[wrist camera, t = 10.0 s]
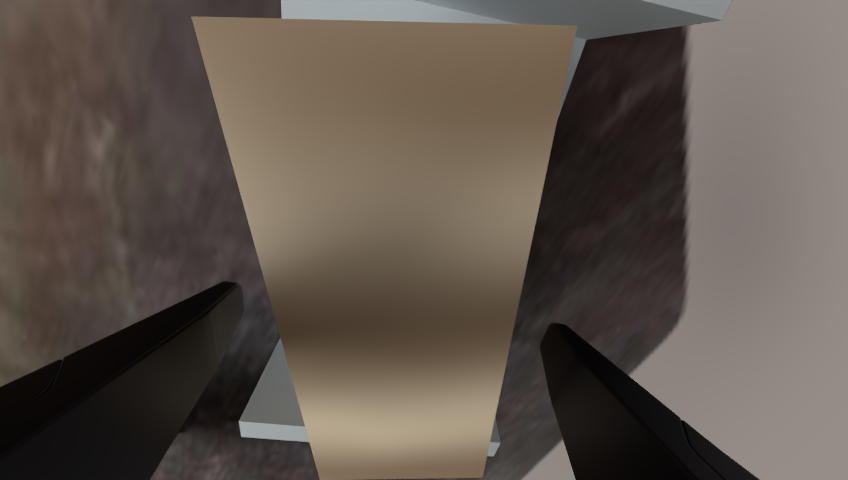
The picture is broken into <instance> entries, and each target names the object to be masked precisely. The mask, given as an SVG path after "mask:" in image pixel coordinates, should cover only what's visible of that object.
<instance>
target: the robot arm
mask: <svg viewBox="0 0 848 480" xmlns="http://www.w3.org/2000/svg"><path fill="white" fill-rule="evenodd" d="M243 312H244V299H243V291H242V286H241V284H240V283H236V282H228V281H224V282H221V283H219V284H217V285H215V286H213V287H211V288H209V289H206V290H204V291H202V292H200V293H198V294H196V295H194V296H192V297H190V298H188V299H185V300H183V301H181V302H179V303H177V304H175V305H173V306H171V307H169V308H166V309H164V310H162V311H160V312H158V313H156V314H154V315H152V316H150V317H148V318H145V319H143V320H141V321H139V322H137V323H135V324H133V325H131V326H129V327H127V328H124V329H122V330H120V331H118V332H116V333H114V334H112V335H110V336H108V337H106V338H103V339H101V340H99V341H97V342H95V343H93V344H91V345H89V346H87V347H84V348H82V349H80V350H78V351H76V352H74V353H72V354H70V355H68V356H65V357H64V358H63V360H57V361H55V362H53V363H51V364H48V365H46V366H44V367H42V368H40V369H38V370H36V371H34V372H32V373H29V374H27V375H25V376H23V377H21V378H18V379H16V380H14V381H12V382H10V383H8V384H5V385H3V386H1V387H0V480H150V478H151V477H152V475H153V473H154V472H155V470H156V468H157V467H158V465H159V463H160V462H161V460H162V458H163V457H164V455H165V453H166V452H167V450H168V448H169V447H170V445H171V444H172V442H173V440H174V439H175V438H176V436H177V434H178V432H179V430H180V429H181V427H182V425H183V424H184V422H185V420H186V419H187V417H188V415H189V414H190V412H191V411H192V409H193V407H194V406H195V404H196V402H197V401H198V399H199V397H200V396H201V394H202V392H203V391H204V389H205V387H206V386H207V384H208V382H209V381H210V379H211V378H212V376H213V374H214V373H215V371H216V369H217V367H218V366H219V364H220V362H221V360H222V358H223V356H224V353H225V351H226V349H227V347H228V345H229V343H230V340H231V338H232V336H233V334H234V332H235V330H236V328H237V325H238V323H239V321H240V319H241V317H242V315H243ZM540 351H541V356H542V361H543V365H544V370H545V375H546V380H547V385H548V390H549V394H550V398H551V402H552V405H553V408H554V412H555V415H556V418H557V421H558V424H559V428H560V431H561V434H562V437H563V440H564V444H565V446H566V450H567V453H568V456H569V459H570V463H571V466H572V469H573V472H574V475H575V479H576V480H759V479H758V478H757V477H755V476H754V475H753V474H751V473H750V472H749V471H747V470H746V469H745V468H743V467H742V466H741V465H739V464H738V463H737V462H735V461H734V460H733V459H731V458H730V457H729V456H727V455H726V454H725V453H723V452H722V451H721V450H720V449H718V448H717V447H716V446H715V445H713V444H712V443H711V442H709V441H708V440H707V439H706V438H704V437H703V436H702V435H701V434H699V433H698V432H697V431H696V430H695V429H693V428H692V427H691V426H690V425H688V424H687V423H686V422H685V421H683V420H681V419H680V418H679V417H678V416H677V415H676V414H675V413H674V412H672V411H671V410H670V409H669V408H667V407H666V406H665V405H663V404H662V403H661V402H660V401H659V400H657V399H656V398H655V397H654V396H653V395H651V394H650V393H649V392H648V391H646V390H645V389H644V388H643V387H641V386H640V385H639V384H638V383H637V382H635V381H634V380H633V379H631V378H630V377H629V376H628V375H627V374H625V373H624V372H623V371H622V370H621V369H619V368H618V367H617V366H616V365H614V364H613V363H612V362H611V361H609V360H608V359H607V358H606V357H605V356H603V355H602V354H601V353H600V352H598V351H597V350H596V349H595V348H593V347H592V346H591V345H590V344H589V343H587V342H586V341H585V340H584V339H582V338H581V337H580V336H579V335H577V334H576V333H575V332H574V331H573V330H571V329H570V328H569V327H568V326H566V325H564V324H559V323H551V324H550V325H549V326H548V328H547V330H546V332H545V334H544V336H543V338H542V340H541V343H540Z"/></svg>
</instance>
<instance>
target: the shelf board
mask: <svg viewBox="0 0 848 480" xmlns="http://www.w3.org/2000/svg"><path fill="white" fill-rule="evenodd" d="M191 17H192V16H191ZM192 21H193V24H194V28H195V32H196V35H197V39H198V42H199V46H200V50H201V53H202V57H203V60H204V64H205V68H206V71H207V75H208V78H209V82H210V86H211V89H212V93H213V96H214V100H215V104H216V107H217V111H218V114H219V118H220V122H221V125H222V129H223V132H224V136H225V140H226V143H227V147H228V150H229V154H230V158H231V161H232V165H233V168H234V172H235V176H236V179H237V183H238V187H239V190H240V194H241V197H242V201H243V205H244V208H245V212H246V215H247V219H248V223H249V226H250V230H251V233H252V237H253V241H254V244H255V248H256V251H257V255H258V259H259V262H260V266H261V269H262V273H263V277H264V280H265V284H266V287H267V291H268V295H269V298H270V302H271V305H272V309H273V313H274V316H275V320H276V323H277V327H278V331H279V334H280V338H281V341H282V345H283V349H284V352H285V356H286V359H287V363H288V367H289V370H290V374H291V377H292V381H293V385H294V388H295V392H296V395H297V399H298V403H299V406H300V410H301V413H302V417H303V421H304V424H305V428H306V431H307V435H308V439H309V442H310V446H311V449H312V453H313V457H314V460H315V464H316V467H317V471H318V475H319V478H320V480H354V479H420V478H482V477H483V473H484V468H485V463H486V458H487V454H488V449H489V444H490V439H491V434H492V430H493V425H494V420H495V415H496V411H497V406H498V401H499V396H500V391H501V387H502V382H503V377H504V372H505V368H506V363H507V358H508V353H509V348H510V344H511V339H512V334H513V329H514V324H515V320H516V315H517V310H518V305H519V301H520V296H521V291H522V286H523V281H524V277H525V272H526V267H527V262H528V258H529V253H530V248H531V243H532V238H533V234H534V229H535V224H536V219H537V215H538V210H539V205H540V200H541V195H542V191H543V186H544V181H545V176H546V172H547V167H548V162H549V157H550V152H551V148H552V143H553V138H554V133H555V128H556V124H557V119H558V114H559V109H560V105H561V100H562V95H563V90H564V85H565V81H566V76H567V71H568V66H569V62H570V57H571V52H572V47H573V42H574V38H575V33H576V28H577V26H568V25H526V24H484V23H442V22H401V21H359V20H317V19H275V18H233V17H192Z"/></svg>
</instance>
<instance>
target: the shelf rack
mask: <svg viewBox="0 0 848 480" xmlns="http://www.w3.org/2000/svg"><path fill="white" fill-rule="evenodd" d="M731 2H732V0H281V10H282V19H317V20H359V21H401V22H442V23H484V24H526V25H568V26H577V28H576V33H575V38H574V42H573V47H572V52H571V57H570V62H569V66H568V71H567V76H566V81H565V85H564V90H563V95H562V100H561V105H560V109H559V114H560V111H561V109H562V106H563V103H564V100H565V98H566V95H567V92H568V89H569V87H570V84H571V81H572V78H573V76H574V73H575V70H576V67H577V65H578V62H579V59H580V56H581V53H582V51H583V48H584V45H585V42H586V40H588V39H595V38H602V37H609V36H616V35H623V34H630V33H637V32H644V31H651V30H658V29H665V28H672V27H679V26H686V25H693V24H700V23H707V22H713V21H720V20H722V19H723V17H724V16H725V13H726V12H727V10H728V8H729V6H730V4H731ZM559 114H558V117H559ZM557 120H558V119H557ZM239 426H240V432H241V437H250V438H263V439H276V440H289V441H302V442H309V439H308V435H307V431H306V428H305V424H304V421H303V417H302V413H301V410H300V406H299V403H298V399H297V395H296V392H295V388H294V385H293V381H292V377H291V374H290V370H289V367H288V363H287V359H286V356H285V352H284V349H283V345H282V341H281V338H280V339H279V341H278V343H277V345H276V347H275V349H274V351H273V353H272V355H271V357H270V359H269V361H268V363H267V366H266V368H265V370H264V372H263V374H262V376H261V378H260V380H259V382H258V384H257V386H256V388H255V390H254V392H253V394H252V396H251V398H250V400H249V402H248V404H247V406H246V408H245V410H244V412H243V414H242V416H241V418H240V420H239ZM499 445H500V438H499V434H498V429H497V425H496V420H494V425H493V430H492V434H491V439H490V444H489V449H488V454H487V456H494V455H495V453H496V451H497V449H498V447H499Z"/></svg>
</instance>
